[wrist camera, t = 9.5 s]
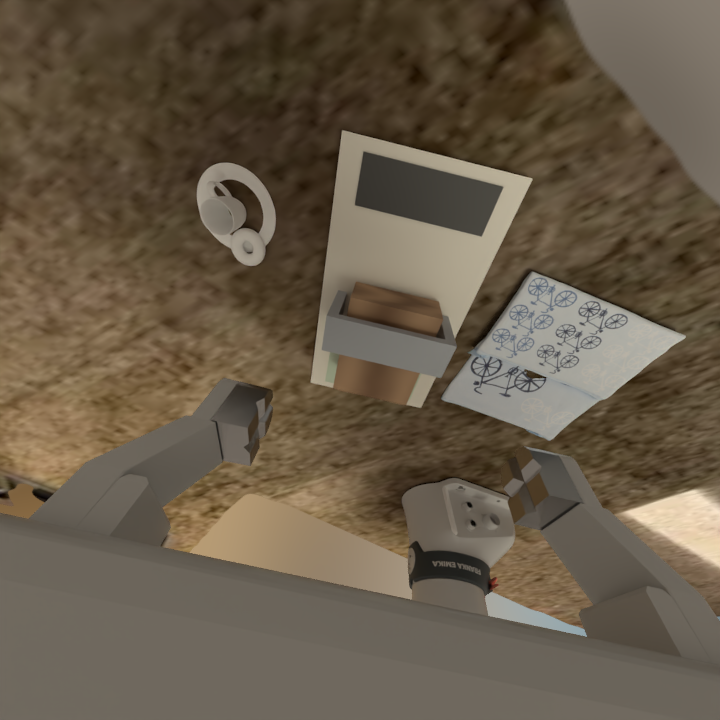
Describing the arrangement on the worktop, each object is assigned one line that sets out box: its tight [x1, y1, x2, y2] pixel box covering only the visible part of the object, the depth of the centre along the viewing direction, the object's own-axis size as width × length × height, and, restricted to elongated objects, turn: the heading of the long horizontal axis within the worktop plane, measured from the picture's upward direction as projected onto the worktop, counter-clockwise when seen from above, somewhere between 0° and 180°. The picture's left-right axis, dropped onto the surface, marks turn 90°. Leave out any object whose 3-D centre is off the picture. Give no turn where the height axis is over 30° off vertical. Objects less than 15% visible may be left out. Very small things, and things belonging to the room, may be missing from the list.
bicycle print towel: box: [441, 272, 686, 441], centre depth 35 cm, size 19×20×2 cm
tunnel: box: [322, 290, 457, 378], centre depth 30 cm, size 12×4×6 cm, turn 79°
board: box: [311, 130, 532, 408], centre depth 32 cm, size 16×28×1 cm, turn 169°
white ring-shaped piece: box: [197, 163, 276, 266], centre depth 27 cm, size 9×8×4 cm
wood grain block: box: [333, 282, 443, 405], centre depth 32 cm, size 9×12×4 cm
